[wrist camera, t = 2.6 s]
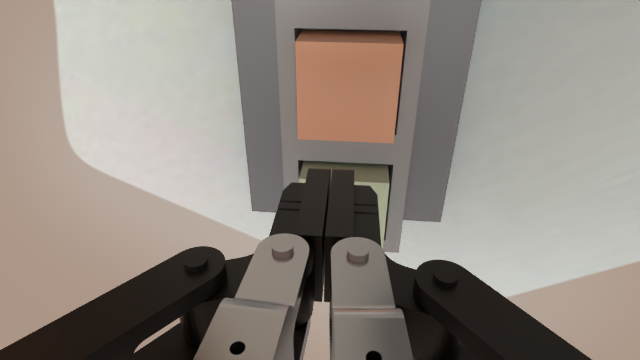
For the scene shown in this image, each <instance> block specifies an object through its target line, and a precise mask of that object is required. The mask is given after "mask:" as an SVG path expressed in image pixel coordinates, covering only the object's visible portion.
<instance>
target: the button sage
mask: <svg viewBox="0 0 640 360" xmlns="http://www.w3.org/2000/svg"><path fill="white" fill-rule="evenodd" d="M308 168H317V169H331V177H332V169H343V170H354V185H367V186H371V187H372V189H373V190H374V191H375V192H376V194H377V196H378V210H379V223H380V236H381V247H382V249H383V243H384V233H385V223H386V213H387V203H388V193H389V184H390V183H389V172H388V164H368V163H347V162H326V161H305V160H304V162H303V166H302V169H301V173H300V176H299V183H305V181H306V177H307V172H308Z"/></svg>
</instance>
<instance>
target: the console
mask: <svg viewBox="0 0 640 360" xmlns="http://www.w3.org/2000/svg"><path fill="white" fill-rule="evenodd" d="M231 1H232V11H233V21H234V31H235V41H236V51H237V62H238V72H239V82H240V92H241V102H242V112H243V123H244V133H245V143H246V153H247V163H248V173H249V184H250V194H251V204H252V211H260V212H277V210H278V205H279V202H280V198H281V195H282V192H283V190H284V189H285V188H286V187H287V186H288V185H289V184H290V183H292V182H295V183H299V176H300V173H301V169H302V166H303V162H304V160H305V161H326V162H347V163H368V164H388V172H389V183H390V184H389V193H388V203H387V213H386V223H385V233H384V243H383V250H384V252H398V253H399V245H400V238H401V230H402V222H403V220H416V221H433V222H440V221H441V216H442V211H443V205H444V200H445V194H446V189H447V183H448V178H449V173H450V167H451V162H452V156H453V151H454V146H455V140H456V135H457V129H458V124H459V119H460V113H461V108H462V102H463V97H464V91H465V86H466V81H467V75H468V70H469V64H470V59H471V54H472V48H473V43H474V37H475V32H476V26H477V21H478V16H479V10H480V5H481V0H231ZM302 30H335V31H382V32H400V35H401V38H402V40H403V43H404V46H403V56H402V66H401V76H400V85H399V95H398V105H397V115H396V125H395V135H394V143H372V142H348V141H325V140H302V139H298V131H297V95H296V58H295V41H296V39H297V38H298V36H299V35H300V33H301V32H302Z"/></svg>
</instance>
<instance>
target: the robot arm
mask: <svg viewBox="0 0 640 360" xmlns="http://www.w3.org/2000/svg"><path fill="white" fill-rule="evenodd" d="M324 275H325V277H324ZM324 284H325V285H324ZM323 285H324V301H325V302H330V321H329V336H330V360H591V359H590V358H589V357H587V356H586V355H584V354H583V353H582V352H580V351H579V350H578V349H576V348H575V347H573V346H572V345H571V344H569V343H568V342H566V341H565V340H564V339H562V338H561V337H559V336H558V335H556V334H555V333H554V332H552V331H551V330H550V329H548V328H547V327H545V326H544V325H542V324H541V323H540V322H538V321H537V320H536V319H534V318H533V317H531V316H530V315H529V314H527V313H526V312H524V311H523V310H522V309H520V308H519V307H518V306H516V305H515V304H513V303H512V302H510V301H509V300H508V299H506V298H505V297H504V296H502V295H501V294H500V293H498V292H497V291H495V290H494V289H493V288H491V287H490V286H488V285H487V284H486V283H484V282H483V281H481V280H480V279H479V278H477V277H476V276H474V275H473V274H472V273H470V272H469V271H468V270H466V269H465V268H463V267H462V266H460V265H458V264H456V263H453V262H450V261H446V260H431V261H427V262H425V263H423V264H421V265H420V266H419V267H418V268H417V270H415V269H412V268H408V267H405V266H402V265H400V264H397V263H395V262H394V261H392V260H391V259H390V258H388V257H387V256H386V255H385V253H384V250H383V249H382V247H381V236H380V223H379V210H378V196H377V194H376V192H375V191H374V190H373V189H372V187H371V186H367V185H354V170H343V169H332V177H331V169H317V168H308V172H307V177H306V181H305V183H295V182H292V183H290V184H289V185H288V186H287V187H286V188H285V189H284V190H283V192H282V195H281V198H280V202H279V205H278V210H277V212H276V215H275V219H274V222H273V225H272V229H271V232H270V235H269V237H267V238H265V239H264V240H262V241H261V242H260V243H259V245H258V246H257V249H256V250H255V253H254V254H252V255H249V256H246V257H242V258H236V259H231V260H225V257H224V255H223V254H222V253H221V252H220V251H219V250H217V249H215V248H212V247H206V246H205V247H204V246H201V247H194V248H190V249H187V250H185V251H182V252H180V253H179V254H177V255H175V256H173V257H171V258H170V259H168V260H166V261H164V262H162V263H160V264H158V265H156V266H155V267H153V268H151V269H149V270H147V271H145V272H144V273H142V274H140V275H138V276H137V277H134V278H133V279H131V280H129V281H127V282H125V283H123V284H121V285H120V286H118V287H116V288H114V289H112V290H111V291H109V292H107V293H105V294H103V295H101V296H99V297H98V298H96V299H94V300H92V301H90V302H88V303H87V304H85V305H83V306H81V307H79V308H77V309H76V310H73V311H72V312H70V313H68V314H66V315H64V316H62V317H61V318H59V319H57V320H55V321H53V322H51V323H49V324H48V325H46V326H44V327H42V328H40V329H38V330H37V331H35V332H33V333H31V334H29V335H27V336H26V337H24V338H22V339H20V340H18V341H16V342H14V343H13V344H11V345H9V346H7V347H5V348H3V349H2V350H0V360H303V356H304V352H305V347H306V342H307V338H308V333H309V329H310V317H311V315H312V311H313V302H314V301H319V302H321V301H322V295H323ZM178 318H180V323H179V324H177V325H176V326H174V327H173V328H171V329H170V330H168V331H167V332H165V333H164V334H162V335H161V336H159V337H158V338H156V339H155V340H153V341H152V342H150V343H149V344H147V345H146V346H144V347H143V348H141V349H140V350H138V351H137V352H135V353H134V351H135V349H136V348H137V347H138V345H139V344H140V343H141V342H143V341H144V340H145V339H147V338H148V337H150V336H151V335H153V334H154V333H156V332H157V331H159V330H161V329H162V328H164V327H165V326H167V325H168V324H170V323H171V322H173V321H174V320H176V319H178ZM133 353H134V354H133Z"/></svg>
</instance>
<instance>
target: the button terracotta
mask: <svg viewBox="0 0 640 360" xmlns="http://www.w3.org/2000/svg"><path fill="white" fill-rule="evenodd" d="M403 46H404V43H403V40H402V38H401V35H400V32H382V31H335V30H302V32H301V33H300V35H299V36H298V38H297V39H296V41H295V58H296V95H297V131H298V139H302V140H325V141H348V142H372V143H394V135H395V125H396V115H397V105H398V95H399V85H400V76H401V66H402V56H403Z"/></svg>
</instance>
